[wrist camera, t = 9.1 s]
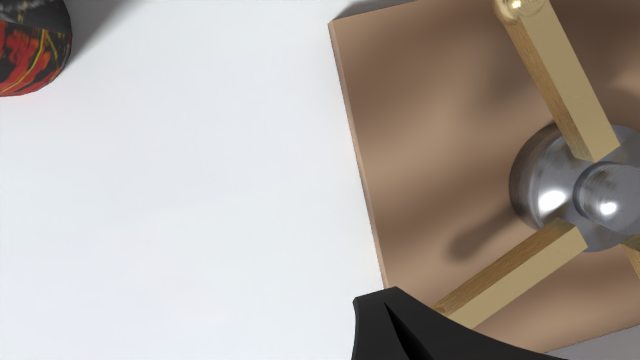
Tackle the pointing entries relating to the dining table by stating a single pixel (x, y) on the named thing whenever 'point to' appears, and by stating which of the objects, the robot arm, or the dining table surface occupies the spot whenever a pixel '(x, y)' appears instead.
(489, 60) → the stand board
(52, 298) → the dining table surface
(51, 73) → the deodorant
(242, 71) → the dining table surface
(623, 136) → the capstan
